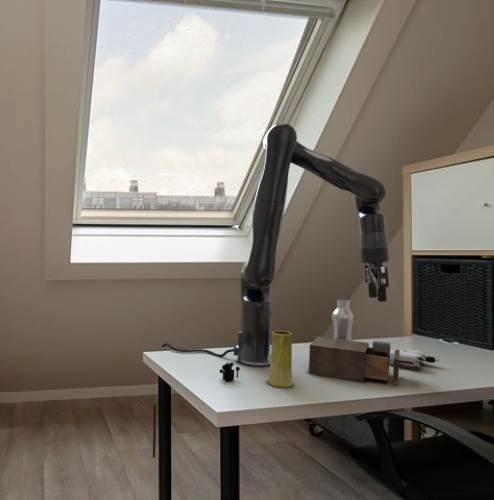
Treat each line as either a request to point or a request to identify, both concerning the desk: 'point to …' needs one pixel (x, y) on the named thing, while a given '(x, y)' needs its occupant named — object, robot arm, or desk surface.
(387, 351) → the tall brushed metal prism
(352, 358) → the cabinet
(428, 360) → the robot toy
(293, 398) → the desk surface
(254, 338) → the robot arm
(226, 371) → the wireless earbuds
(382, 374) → the drawer
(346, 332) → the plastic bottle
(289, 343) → the vase
